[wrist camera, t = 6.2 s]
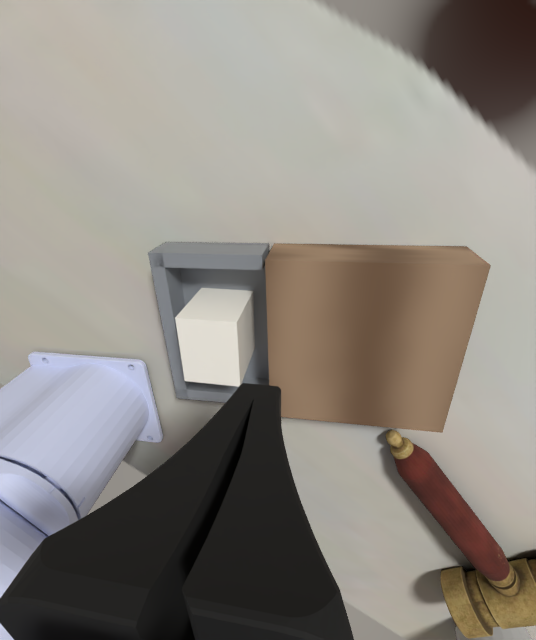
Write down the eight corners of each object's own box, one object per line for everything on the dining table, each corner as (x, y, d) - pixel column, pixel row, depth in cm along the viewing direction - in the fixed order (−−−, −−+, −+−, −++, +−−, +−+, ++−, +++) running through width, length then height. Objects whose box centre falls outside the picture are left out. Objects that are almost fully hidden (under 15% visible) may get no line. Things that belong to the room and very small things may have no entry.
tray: (188, 378, 25) (176, 398, 23) (165, 241, 20) (147, 252, 18) (272, 384, 24) (267, 406, 22) (268, 243, 19) (262, 255, 17)
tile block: (254, 347, 22) (207, 343, 22) (253, 290, 20) (201, 287, 21) (240, 386, 18) (184, 380, 19) (236, 322, 17) (175, 317, 17)
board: (277, 385, 24) (270, 415, 21) (274, 243, 19) (265, 260, 16) (429, 397, 22) (442, 432, 19) (466, 246, 17) (490, 265, 15)
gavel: (327, 483, 23) (474, 429, 19) (330, 435, 27) (452, 382, 23) (475, 651, 28) (621, 637, 23) (459, 588, 32) (581, 567, 28)
